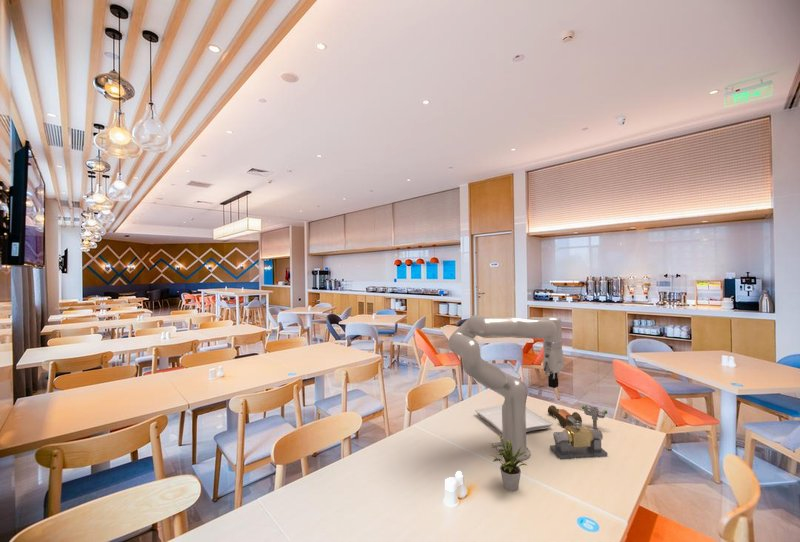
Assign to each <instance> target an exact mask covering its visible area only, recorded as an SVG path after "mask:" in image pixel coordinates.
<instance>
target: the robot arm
mask: <svg viewBox="0 0 800 542" xmlns="http://www.w3.org/2000/svg"><path fill="white" fill-rule="evenodd" d="M562 329H563V328H562V319H561V317H558V316H544V317H537V316H531V317H528V318H527V319H525V318H520V317H514V316H484V315H483V316H482V315H479V314H476V315H475V314H473V315H471V316H470V317H469V318H467V319H466V320H465V321H464V322H463V323H462V324H461V325H460V326H459V327H457V329H456V330H455V331H454V332H453V333H451V335H450V336H449V338H448V342H447V345H448V349H449V350H450V351H451V352H452V353H454V354H456V355H458V356H460V357H461V364H462V369H463V370H464V372H465V374H466V375H467V376H469V377H471V378H472V379H474V380H475V381H476V382H477V383H478V384H480V385H482V386H483V387H486V388H487V389H490V391H491V390H492V391H493V392H495V393H497V394H498V395H500V396H501V397H503V398H504V401H503V404H502V405H503V406H502V433H501V435H502V437H501V438H502V439H503V441H504V444H505V448H506V439H508V440H510V442H511V444H512V455H513V456H514V455H516V454H517V452H518V450H519V449H520V447H521V446H522V447H521V449H520V451H519V453H523V452H524V451H528V452H525V453H523V454H522V455H521V456H519V457H517V458H516V459H517V460H516V461H524V460H527V459H529V458H530V457H531V450H530V448H529V447H528V446H527V432H526V407H527V405H526V404H527V399H528V393H529V392H528V391H529V390H528V387H527V385H526V384H525V382H524V381H523V380H521V379H520V378H518V377H516V376H514V375H511V374H509V373H507V372H505V371H504V370H502V369H500V368H499V367H498V366H496V365H494V364H492V363H490V362H487V361H486V360H484V359H483V358H482V356H481V347H480V344H479V342H478V341H477V340H476V339H475V338H476V336H478V337H481V338H484V339H496V338H497V339H499V338H516V339H536V340H537V339H542V344H543V345H542V346H543V347H542V348H543V355H542V357H543V358H542V361H543V362H542V367H543V371H544V375H545V376H547V380H548V387H549V388H552V389H556V388H558V387H559V377H560V376H559V373H560V372H561V371H564V368H565V363H564V362H565V360H564V351H563V339H562V337H563V335H562V334H563V333H562V331H563V330H562ZM499 440H500V441H497V442H491V444H490V446H491V448H492V449H496V451H498V453H499V452H502V451H504V448H503V445H502V442H501V439H500V438H499ZM513 441H514V442H513ZM493 444H494V445H496V446H497V447H496V446H494V445H493ZM499 449H500V450H501V451H499ZM508 449H509V446H508ZM506 451H507V450H506Z"/></svg>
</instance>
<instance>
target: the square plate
mask: <svg viewBox="0 0 800 542" xmlns="http://www.w3.org/2000/svg"><path fill="white" fill-rule="evenodd" d="M502 406H503V404H499V405H498V404H497V405H494V406H488V407H482V408H478V409H475V410H474V411H475V412H476V413H477V414H478V415H479V416H480V418H482V419H483V420H485V421H486V422H488V423H489V424H490V425H492V426H493V427H494V429H495V430H497V431H498V432H500V433H501V434H502ZM487 416H488V417H487ZM492 420H495V421H492ZM553 424H554V423H553V422H551V421H550V420H548V419H547V418H546V417H543V416H542V415H540V414H538V412H535V411H533V410H532V409H530V408H528V407H527V406H526V433H528V432H533V431H539V430H543V429H544V430H545V429H547V428H549V427H551V426H553Z"/></svg>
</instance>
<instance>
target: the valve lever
mask: <svg viewBox="0 0 800 542" xmlns="http://www.w3.org/2000/svg"><path fill="white" fill-rule="evenodd" d="M558 409H559V414H560V415H561V416H563V417H564V418H565V419H569V420H570V421H571V422H572V426H573V425H574V426H576V427H582V426H583V421H582V422H580V421H579V420H575V419H574V418H573V417H571V415H572V414H571V413H570V412H568V411H567V410H566V409H564V408H562V409H560V408H558Z"/></svg>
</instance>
